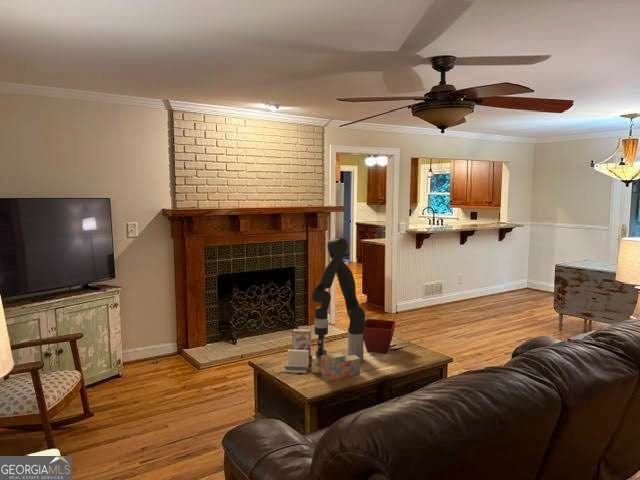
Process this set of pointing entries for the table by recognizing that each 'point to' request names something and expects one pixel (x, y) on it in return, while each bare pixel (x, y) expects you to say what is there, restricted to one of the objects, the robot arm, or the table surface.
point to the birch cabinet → (317, 362)
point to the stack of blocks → (339, 366)
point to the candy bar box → (301, 340)
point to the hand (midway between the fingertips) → (321, 353)
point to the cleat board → (297, 361)
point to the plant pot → (378, 335)
